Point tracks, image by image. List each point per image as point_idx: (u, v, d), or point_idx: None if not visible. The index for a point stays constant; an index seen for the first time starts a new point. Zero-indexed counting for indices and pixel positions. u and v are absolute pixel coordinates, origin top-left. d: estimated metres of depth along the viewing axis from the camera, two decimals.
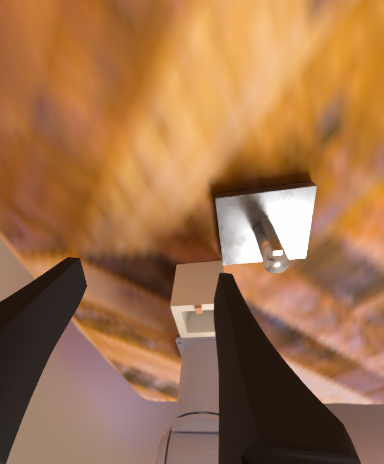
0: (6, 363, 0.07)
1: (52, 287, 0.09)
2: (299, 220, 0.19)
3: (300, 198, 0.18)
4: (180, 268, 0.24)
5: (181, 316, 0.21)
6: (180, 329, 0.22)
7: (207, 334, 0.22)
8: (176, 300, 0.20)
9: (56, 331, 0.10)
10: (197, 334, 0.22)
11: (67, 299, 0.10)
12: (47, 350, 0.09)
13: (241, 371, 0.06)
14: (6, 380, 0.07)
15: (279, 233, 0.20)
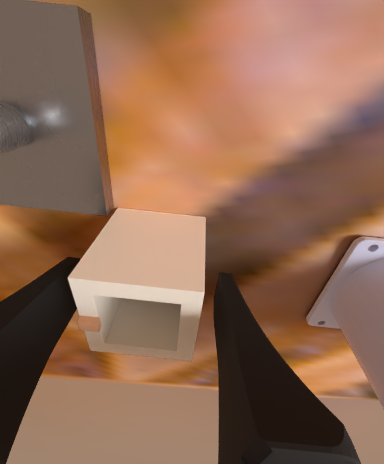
0: (6, 363, 0.07)
1: (52, 287, 0.09)
2: None
3: None
4: None
5: (121, 345, 0.11)
6: (162, 355, 0.11)
7: (186, 327, 0.09)
8: None
9: (56, 331, 0.10)
10: (185, 340, 0.10)
11: (67, 299, 0.10)
12: (47, 349, 0.09)
13: (241, 371, 0.06)
14: (6, 380, 0.07)
15: (8, 89, 0.09)
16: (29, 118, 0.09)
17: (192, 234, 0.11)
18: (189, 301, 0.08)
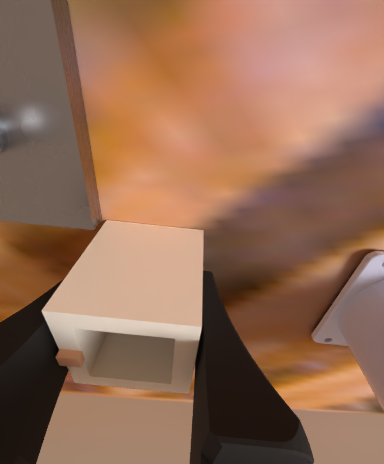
0: (37, 366, 0.07)
1: None
2: None
3: None
4: None
5: (108, 377, 0.09)
6: (155, 388, 0.10)
7: (182, 361, 0.08)
8: None
9: None
10: (181, 373, 0.09)
11: None
12: None
13: (205, 367, 0.06)
14: (37, 383, 0.07)
15: None
16: (0, 123, 0.08)
17: (188, 251, 0.10)
18: (184, 336, 0.07)
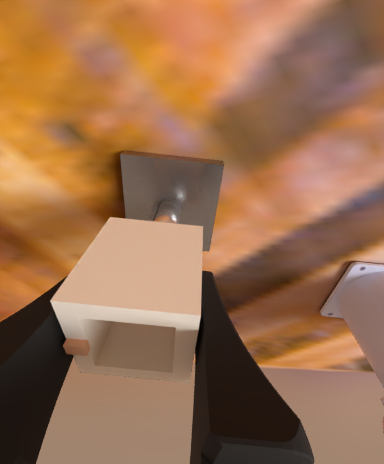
0: (37, 366, 0.07)
1: None
2: (162, 172, 0.17)
3: (133, 170, 0.17)
4: None
5: (112, 367, 0.10)
6: (157, 377, 0.10)
7: (182, 350, 0.09)
8: None
9: None
10: (182, 362, 0.09)
11: None
12: None
13: (206, 367, 0.06)
14: (36, 383, 0.07)
15: (177, 193, 0.17)
16: (182, 205, 0.18)
17: (188, 246, 0.10)
18: (185, 324, 0.08)
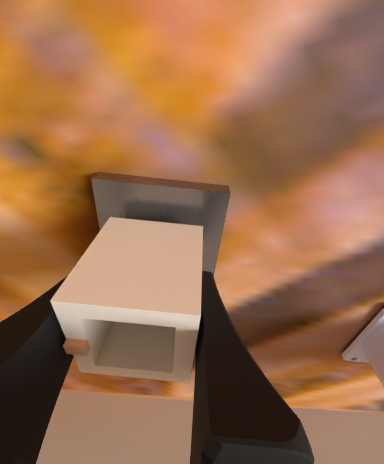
0: (37, 366, 0.07)
1: None
2: (148, 201, 0.13)
3: (110, 199, 0.13)
4: None
5: (112, 366, 0.10)
6: (157, 377, 0.10)
7: (182, 350, 0.09)
8: None
9: None
10: (181, 362, 0.09)
11: None
12: None
13: (206, 367, 0.06)
14: (36, 383, 0.07)
15: None
16: None
17: (188, 246, 0.10)
18: (185, 324, 0.08)
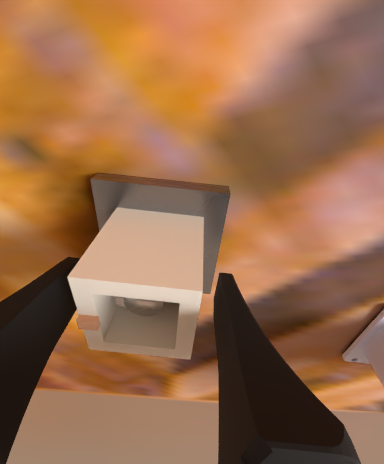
0: (6, 363, 0.07)
1: (52, 287, 0.09)
2: (148, 201, 0.12)
3: (109, 200, 0.12)
4: None
5: (119, 343, 0.11)
6: (160, 354, 0.11)
7: (185, 326, 0.09)
8: None
9: (56, 331, 0.10)
10: (184, 338, 0.10)
11: (67, 299, 0.10)
12: (46, 349, 0.09)
13: (241, 371, 0.06)
14: (6, 380, 0.07)
15: None
16: None
17: (190, 234, 0.11)
18: (188, 300, 0.09)
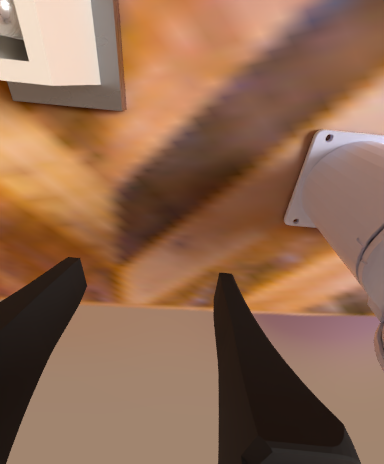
0: (6, 363, 0.07)
1: (52, 287, 0.09)
2: None
3: None
4: None
5: None
6: (18, 75, 0.10)
7: None
8: None
9: (56, 331, 0.10)
10: (30, 31, 0.09)
11: (67, 299, 0.10)
12: (47, 349, 0.09)
13: (241, 371, 0.06)
14: (6, 380, 0.07)
15: None
16: None
17: None
18: None
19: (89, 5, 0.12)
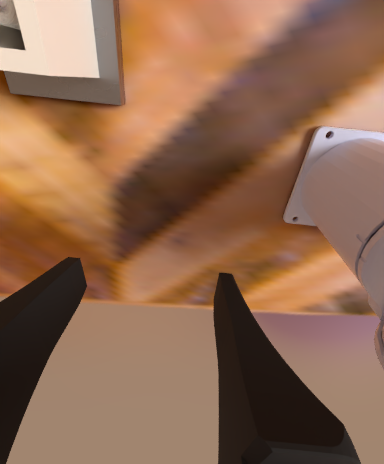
0: (6, 363, 0.07)
1: (52, 287, 0.09)
2: None
3: None
4: None
5: None
6: (14, 64, 0.10)
7: None
8: None
9: (56, 331, 0.10)
10: (26, 19, 0.09)
11: (67, 299, 0.10)
12: (46, 349, 0.09)
13: (241, 371, 0.06)
14: (6, 380, 0.07)
15: None
16: None
17: None
18: None
19: None
